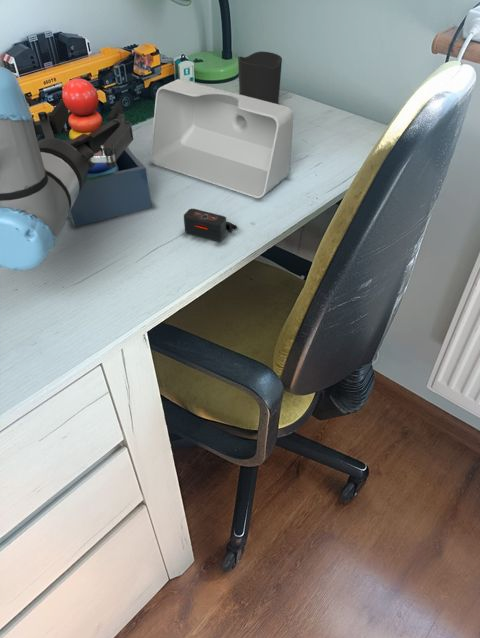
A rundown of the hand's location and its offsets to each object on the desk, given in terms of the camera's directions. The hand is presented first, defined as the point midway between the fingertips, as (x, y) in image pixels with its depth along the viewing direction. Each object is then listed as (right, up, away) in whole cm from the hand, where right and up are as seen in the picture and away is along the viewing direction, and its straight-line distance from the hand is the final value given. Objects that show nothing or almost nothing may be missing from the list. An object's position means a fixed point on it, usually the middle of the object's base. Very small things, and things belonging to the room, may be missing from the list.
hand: (92, 109), depth 81 cm
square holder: (0, -13, +6) cm, 14 cm away
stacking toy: (0, -13, +6) cm, 14 cm away
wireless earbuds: (+19, -20, 0) cm, 28 cm away
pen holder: (+26, +17, +36) cm, 48 cm away
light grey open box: (+20, -3, +16) cm, 26 cm away
